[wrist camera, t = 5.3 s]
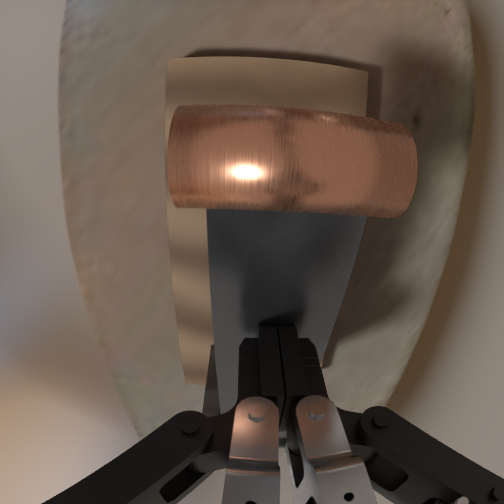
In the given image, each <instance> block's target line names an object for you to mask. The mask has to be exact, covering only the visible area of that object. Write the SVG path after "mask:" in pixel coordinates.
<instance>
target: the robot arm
mask: <svg viewBox="0 0 504 504" xmlns="http://www.w3.org/2000/svg"><path fill="white" fill-rule="evenodd" d="M284 431H286V435H287V442H286V446H285V450H286V455H287V460H288V466H289V471H290V476H291V482H292V487H293V504H378V503H377V500H376V497H375V494H374V491H373V489H374V490H375V491H376V492H378V493H379V494H381V495H382V496H384V497H385V498H387V499H388V500H390V501H391V502H393V503H394V504H504V479H503V478H501V477H499V476H497V475H496V474H494V473H492V472H490V471H489V470H487V469H485V468H483V467H482V466H480V465H478V464H476V463H475V462H473V461H471V460H470V459H468V458H466V457H464V456H463V455H461V454H459V453H458V452H456V451H454V450H453V449H451V448H450V447H448V446H446V445H444V444H443V443H441V442H440V441H438V440H437V439H435V438H433V437H431V436H430V435H429V434H427V433H425V432H424V431H422V430H421V429H419V428H418V427H416V426H414V425H413V424H411V423H410V422H408V421H407V420H405V419H404V418H402V417H400V416H399V415H398V414H396V413H394V412H393V411H391V410H390V409H388V408H386V407H382V406H374V407H371V408H368V409H367V410H365V411H364V413H363V414H362V413H356V412H350V411H345V410H342V409H340V408H338V407H336V406H335V404H334V403H333V402H332V401H331V400H330V399H329V397H328V395H327V390H326V386H325V382H324V378H323V374H322V370H321V366H320V362H319V358H318V354H317V350H316V346H315V345H314V344H313V343H312V342H311V340H310V339H309V338H298V333H297V328H296V326H295V325H277V326H276V325H258V330H257V338H244V339H243V341H242V343H241V344H240V346H239V366H238V398H237V402H236V404H235V405H234V407H233V408H232V409H230V410H229V411H228V412H226V413H223V414H220V415H216V416H212V417H207V416H206V415H204V414H203V413H200V412H197V411H183V412H180V413H178V414H176V415H175V416H173V417H172V418H171V419H169V420H168V421H167V422H165V423H164V424H163V425H161V426H160V427H159V428H157V429H156V430H155V431H153V432H152V433H150V434H149V435H148V436H146V437H145V438H144V439H142V440H141V441H139V442H138V443H137V444H135V445H134V446H132V447H131V448H130V449H128V450H127V451H125V452H124V453H122V454H121V455H119V456H118V457H116V458H115V459H113V460H112V461H110V462H109V463H108V464H106V465H104V466H103V467H101V468H100V469H98V470H97V471H95V472H94V473H92V474H91V475H89V476H87V477H86V478H84V479H83V480H81V481H79V482H78V483H76V484H74V485H73V486H71V487H69V488H68V489H66V490H65V491H63V492H61V493H59V494H58V495H56V496H54V497H53V498H51V499H49V500H47V501H46V502H44V503H42V504H177V503H178V502H179V501H180V500H182V499H183V498H184V497H185V496H186V495H188V494H189V493H190V492H191V491H192V490H194V489H195V488H196V487H197V486H198V485H199V484H201V482H203V481H204V480H205V479H206V478H207V477H209V476H210V475H211V474H212V473H213V472H214V471H215V470H219V469H223V468H227V469H226V475H225V483H224V491H223V498H222V504H280V467H279V465H278V445H279V432H284Z"/></svg>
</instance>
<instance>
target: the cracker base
mask: <svg viewBox="0 0 504 504" xmlns="http://www.w3.org/2000/svg"><path fill="white" fill-rule="evenodd" d="M368 74H369V72H368V71H363V70H358V69H353V68H347V67H342V66H336V65H329V64H323V63H315V62H307V61H298V60H288V59H276V58H261V57H188V58H172V59H167V71H166V99H165V170H166V199H167V219H168V235H169V249H170V262H171V273H172V284H173V293H174V303H175V311H176V320H177V328H178V336H179V343H180V350H181V357H182V364H183V370H184V376H185V383H186V384H200V385H206V388H205V396H204V405H203V414H204V415H206V416H207V417H212V416H216V415H220V414H221V413H220V403H219V393H218V383H217V373H216V361H215V350H214V337H213V324H212V310H211V296H210V279H209V261H208V240H207V216H206V209H196V208H176V207H175V206H174V204H173V201H172V198H171V195H170V190H169V183H168V171H167V150H168V138H169V131H170V125H171V121H172V117H173V114H174V112H175V110H176V108H177V107H178V106H179V105H198V104H233V105H262V106H278V107H291V108H302V109H312V110H321V111H329V112H336V113H344V114H350V115H357V116H363V117H366V110H367V94H368ZM327 345H328V344H327ZM326 349H327V347H326ZM325 353H326V350H325V352H324V355H323V357H322V360H321V363H320V366H321V367H322V364H323V360H324V356H325Z"/></svg>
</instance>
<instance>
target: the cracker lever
mask: <svg viewBox="0 0 504 504" xmlns="http://www.w3.org/2000/svg"><path fill="white" fill-rule="evenodd" d="M167 171H168V183H169V190H170V195H171V198H172V201H173V204H174V206H175V207H176V208H196V209H206V216H207V240H208V261H209V279H210V296H211V310H212V324H213V337H214V350H215V361H216V373H217V383H218V393H219V403H220V413H221V414H223V413H226V412H228V411H229V410H230V409H232V408H233V407H234V405H235V404H236V402H237V398H238V366H239V346H240V344H241V343H242V341H243V339H244V338H257V330H258V325H276V326H277V325H295V326H296V328H297V333H298V338H309V339H310V340H311V342H312V343H313V344H314V345H315V346H316V350H317V354H318V358H319V362H320V363H321V360H322V357H323V355H324V352H325V350H326V347H327V344H328V342H329V339H330V336H331V333H332V331H333V328H334V325H335V322H336V319H337V316H338V314H339V311H340V308H341V305H342V302H343V299H344V296H345V293H346V290H347V287H348V283H349V280H350V277H351V274H352V270H353V267H354V264H355V261H356V257H357V254H358V250H359V247H360V243H361V240H362V236H363V232H364V229H365V225H366V221H367V217H368V216H369V217H382V218H397V217H399V216H400V215H402V214H403V213H404V212H405V210H406V209H407V208H408V206H409V204H410V202H411V200H412V197H413V194H414V191H415V187H416V182H417V174H418V158H417V150H416V146H415V142H414V139H413V137H412V135H411V133H410V132H409V130H408V129H407V128H406V127H405V126H404V125H402V124H399V123H395V122H390V121H385V120H380V119H374V118H369V117H363V116H357V115H350V114H344V113H336V112H329V111H321V110H312V109H302V108H291V107H278V106H262V105H233V104H198V105H179V106H178V107H177V108H176V110H175V112H174V114H173V117H172V121H171V125H170V131H169V138H168V150H167ZM286 442H287V435H286V431H284V432H279V445H278V448H284V447H285V446H286Z"/></svg>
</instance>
